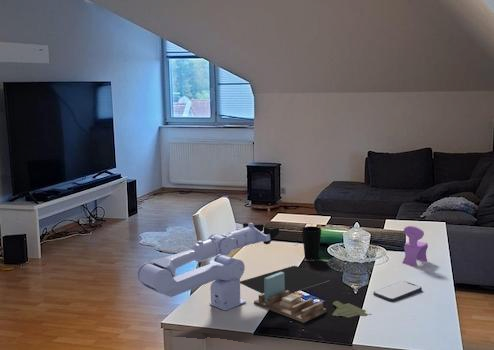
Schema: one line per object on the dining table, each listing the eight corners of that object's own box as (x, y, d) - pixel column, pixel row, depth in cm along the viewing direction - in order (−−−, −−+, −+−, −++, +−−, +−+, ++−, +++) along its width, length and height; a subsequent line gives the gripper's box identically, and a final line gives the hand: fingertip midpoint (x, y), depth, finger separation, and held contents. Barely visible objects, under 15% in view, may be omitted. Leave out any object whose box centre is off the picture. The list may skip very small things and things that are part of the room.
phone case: (392, 304, 187) (423, 291, 196) (392, 299, 187) (423, 287, 196) (371, 296, 194) (402, 284, 204) (371, 291, 194) (402, 280, 203)
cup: (316, 261, 228) (316, 232, 226) (298, 258, 232) (298, 229, 230) (324, 256, 235) (324, 227, 233) (307, 253, 239) (307, 225, 236)
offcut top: (290, 304, 182) (290, 300, 181) (282, 301, 184) (282, 297, 184) (300, 299, 185) (300, 296, 185) (292, 296, 188) (292, 293, 187)
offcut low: (290, 309, 181) (290, 305, 181) (279, 305, 184) (279, 301, 184) (302, 303, 185) (302, 300, 185) (292, 300, 188) (292, 296, 188)
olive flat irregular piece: (360, 329, 169) (360, 326, 168) (318, 310, 183) (318, 307, 183) (385, 320, 175) (386, 316, 175) (342, 301, 189) (342, 298, 189)
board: (267, 302, 186) (267, 279, 185) (264, 301, 188) (264, 277, 186) (284, 295, 192) (284, 272, 190) (281, 294, 193) (281, 271, 192)
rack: (303, 322, 173) (303, 313, 173) (254, 303, 188) (254, 295, 188) (326, 311, 181) (326, 302, 180) (277, 294, 196) (277, 286, 195)
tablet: (294, 265, 224) (331, 279, 208) (294, 267, 224) (331, 281, 208) (238, 282, 208) (273, 298, 192) (238, 283, 208) (273, 300, 192)
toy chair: (430, 261, 226) (431, 224, 223) (419, 267, 220) (420, 229, 217) (410, 257, 232) (411, 220, 229) (399, 262, 225) (400, 225, 223)
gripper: (255, 229, 184) (285, 220, 193) (225, 222, 194) (255, 214, 203) (256, 251, 185) (286, 241, 194) (227, 243, 195) (256, 234, 204)
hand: (270, 228), depth 199 cm, fingers open, 7 cm apart
